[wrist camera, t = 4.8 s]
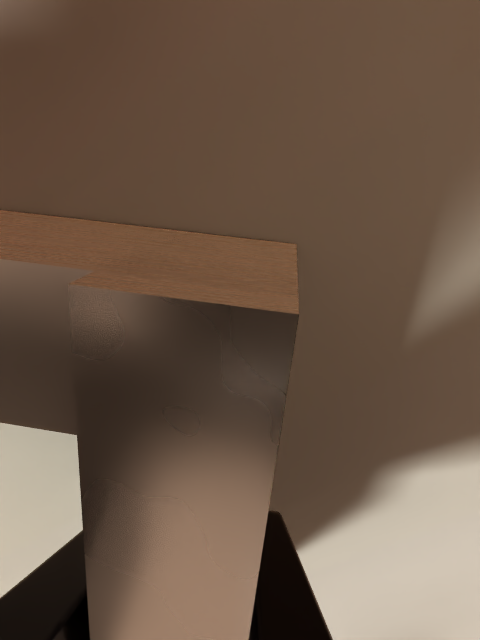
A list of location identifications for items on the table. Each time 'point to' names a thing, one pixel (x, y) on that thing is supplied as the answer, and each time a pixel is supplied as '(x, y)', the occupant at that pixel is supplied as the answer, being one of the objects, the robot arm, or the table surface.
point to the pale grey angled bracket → (155, 406)
